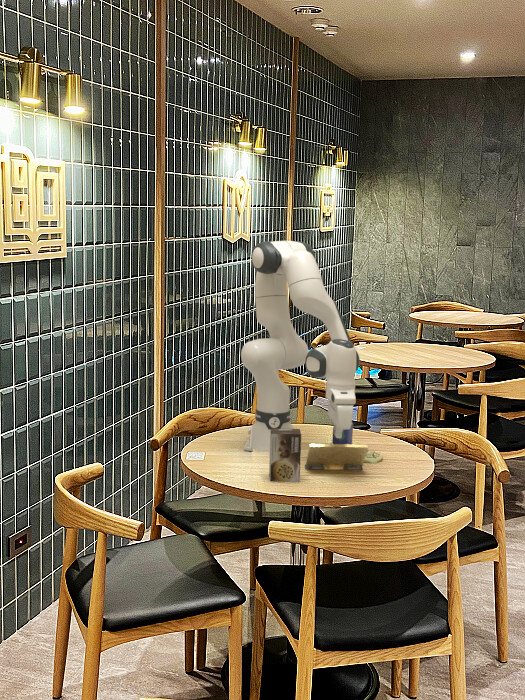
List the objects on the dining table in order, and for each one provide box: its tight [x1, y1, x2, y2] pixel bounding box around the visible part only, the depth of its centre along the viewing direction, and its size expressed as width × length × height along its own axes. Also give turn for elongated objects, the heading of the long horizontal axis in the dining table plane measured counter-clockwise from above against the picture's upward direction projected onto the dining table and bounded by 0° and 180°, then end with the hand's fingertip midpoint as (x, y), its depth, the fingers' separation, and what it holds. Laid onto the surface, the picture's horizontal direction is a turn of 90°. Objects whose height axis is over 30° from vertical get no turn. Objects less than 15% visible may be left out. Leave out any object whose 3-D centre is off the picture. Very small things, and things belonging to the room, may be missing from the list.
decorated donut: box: [363, 450, 384, 464], centre depth 275 cm, size 10×11×4 cm
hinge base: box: [304, 463, 363, 471], centre depth 257 cm, size 13×18×2 cm
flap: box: [305, 443, 369, 471], centre depth 258 cm, size 13×18×2 cm
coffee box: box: [268, 428, 302, 483], centre depth 248 cm, size 9×6×16 cm
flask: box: [331, 422, 354, 445], centre depth 296 cm, size 9×3×11 cm, turn 38°
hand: (338, 437), depth 256 cm, fingers closed
